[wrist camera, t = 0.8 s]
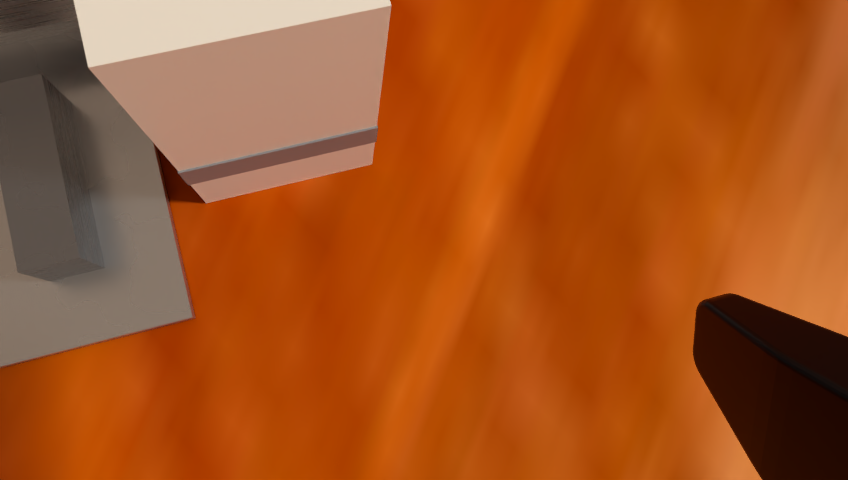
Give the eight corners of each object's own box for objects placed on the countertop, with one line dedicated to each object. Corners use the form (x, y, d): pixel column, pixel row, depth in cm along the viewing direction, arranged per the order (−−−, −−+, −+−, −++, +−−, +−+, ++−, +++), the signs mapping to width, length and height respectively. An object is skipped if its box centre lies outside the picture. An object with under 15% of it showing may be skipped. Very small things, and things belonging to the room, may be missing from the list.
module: (372, 165, 22) (393, 7, 12) (205, 205, 22) (87, 71, 12) (335, 25, 23) (326, -229, 13) (171, 59, 22) (32, -183, 12)
